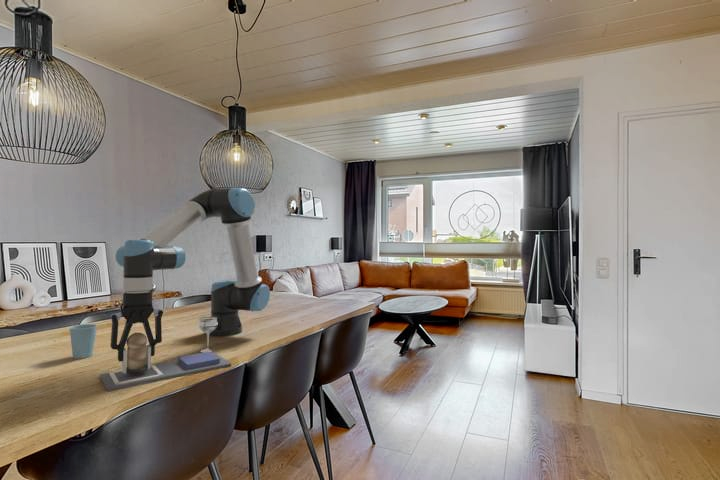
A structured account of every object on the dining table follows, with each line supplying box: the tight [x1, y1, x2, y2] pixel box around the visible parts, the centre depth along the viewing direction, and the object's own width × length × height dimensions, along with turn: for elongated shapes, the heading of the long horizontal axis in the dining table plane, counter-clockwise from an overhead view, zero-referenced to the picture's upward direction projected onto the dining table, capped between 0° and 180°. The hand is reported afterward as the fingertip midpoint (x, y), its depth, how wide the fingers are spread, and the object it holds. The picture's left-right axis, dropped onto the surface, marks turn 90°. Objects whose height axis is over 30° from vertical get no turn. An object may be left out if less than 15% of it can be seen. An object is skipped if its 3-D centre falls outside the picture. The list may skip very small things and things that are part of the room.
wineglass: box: [198, 316, 218, 353], centre depth 140 cm, size 7×7×12 cm
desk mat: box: [99, 352, 232, 392], centre depth 118 cm, size 34×14×2 cm, turn 131°
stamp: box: [126, 332, 148, 374], centre depth 112 cm, size 6×6×11 cm
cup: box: [69, 323, 98, 360], centre depth 131 cm, size 8×8×10 cm
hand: (136, 369), depth 112 cm, fingers closed on stamp, 5 cm apart
